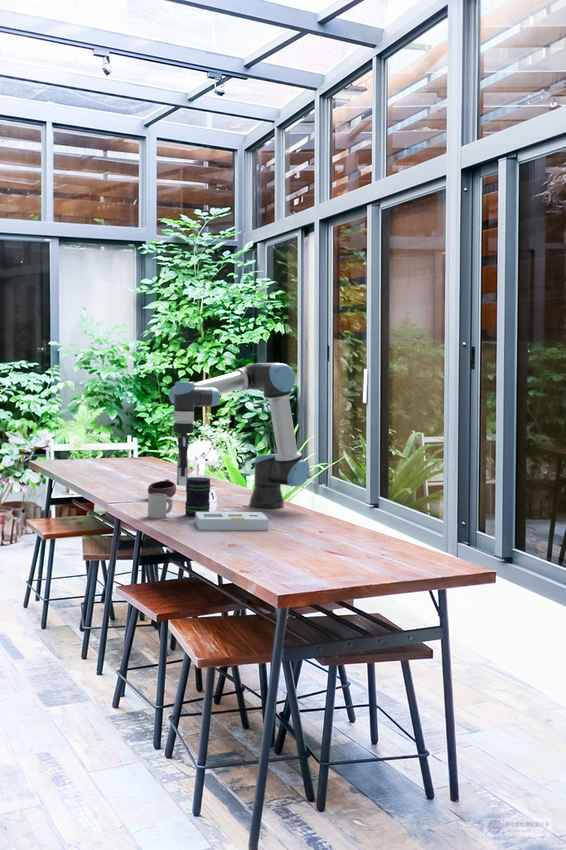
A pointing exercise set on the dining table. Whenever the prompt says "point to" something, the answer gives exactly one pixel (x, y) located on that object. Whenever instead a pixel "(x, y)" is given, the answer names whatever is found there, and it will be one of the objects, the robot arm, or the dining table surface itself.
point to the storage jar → (197, 496)
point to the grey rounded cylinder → (178, 472)
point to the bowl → (163, 488)
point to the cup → (158, 505)
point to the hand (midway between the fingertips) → (182, 484)
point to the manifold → (231, 521)
